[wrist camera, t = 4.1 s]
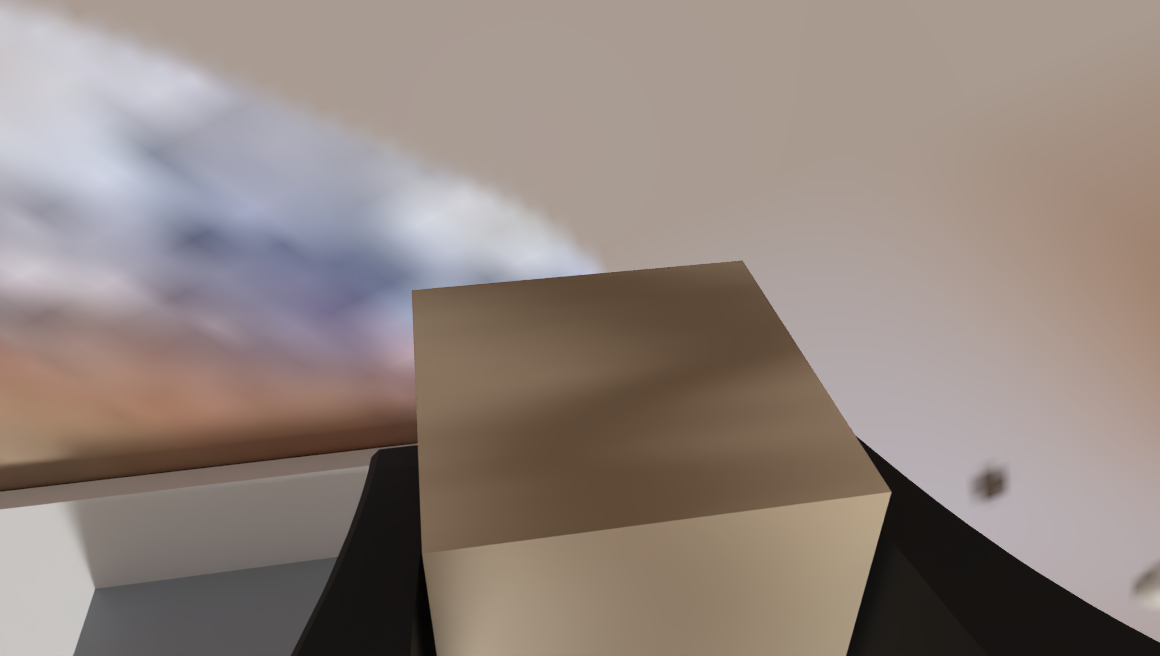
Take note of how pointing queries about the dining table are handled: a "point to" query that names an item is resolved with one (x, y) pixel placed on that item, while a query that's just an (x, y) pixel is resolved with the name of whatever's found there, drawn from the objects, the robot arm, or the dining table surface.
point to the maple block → (634, 471)
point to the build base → (175, 558)
